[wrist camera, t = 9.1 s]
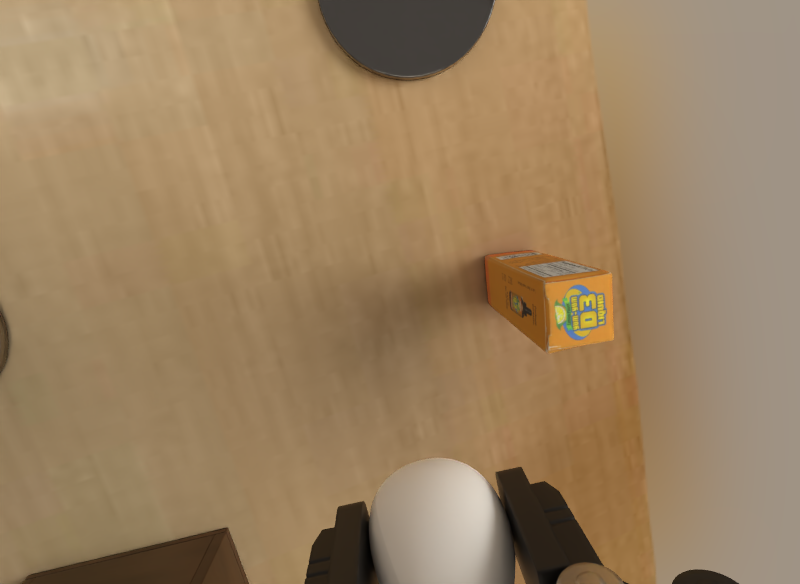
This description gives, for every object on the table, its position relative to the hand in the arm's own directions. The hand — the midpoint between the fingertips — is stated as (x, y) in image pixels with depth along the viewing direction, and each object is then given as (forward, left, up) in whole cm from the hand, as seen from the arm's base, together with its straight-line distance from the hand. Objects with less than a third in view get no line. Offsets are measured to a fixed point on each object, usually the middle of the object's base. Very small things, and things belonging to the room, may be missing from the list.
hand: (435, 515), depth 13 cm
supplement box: (+6, +4, -17) cm, 19 cm away
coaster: (-2, +20, -17) cm, 27 cm away
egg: (0, 0, -1) cm, 1 cm away
